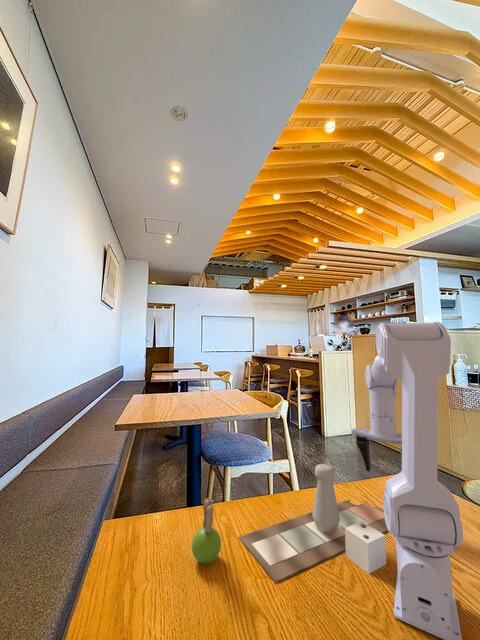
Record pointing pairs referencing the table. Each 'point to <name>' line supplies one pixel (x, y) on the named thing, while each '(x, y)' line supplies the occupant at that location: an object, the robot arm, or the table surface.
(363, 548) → the die
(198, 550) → the green ball handle toy
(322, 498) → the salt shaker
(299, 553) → the game board
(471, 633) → the table surface
